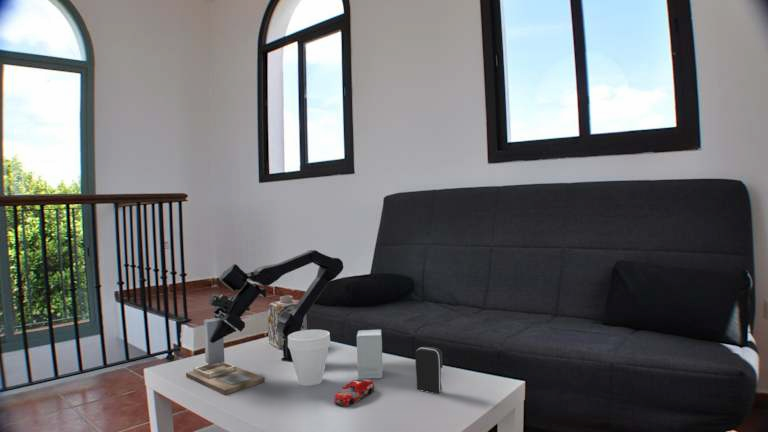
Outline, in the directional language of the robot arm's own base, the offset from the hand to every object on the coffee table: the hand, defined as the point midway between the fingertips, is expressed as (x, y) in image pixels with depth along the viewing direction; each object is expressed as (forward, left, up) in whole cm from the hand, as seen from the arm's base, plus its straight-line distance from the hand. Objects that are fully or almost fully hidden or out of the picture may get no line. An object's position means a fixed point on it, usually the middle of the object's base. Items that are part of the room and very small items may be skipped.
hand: (209, 340), depth 143 cm
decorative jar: (-1, -38, -11) cm, 40 cm away
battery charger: (-68, -11, -11) cm, 69 cm away
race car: (-51, 0, -11) cm, 52 cm away
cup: (-33, -6, -11) cm, 35 cm away
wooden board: (-6, +1, -11) cm, 13 cm away
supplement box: (-47, -17, -11) cm, 51 cm away
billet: (-1, -1, -7) cm, 7 cm away
